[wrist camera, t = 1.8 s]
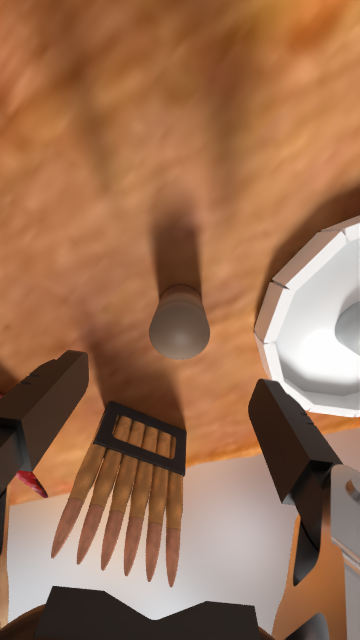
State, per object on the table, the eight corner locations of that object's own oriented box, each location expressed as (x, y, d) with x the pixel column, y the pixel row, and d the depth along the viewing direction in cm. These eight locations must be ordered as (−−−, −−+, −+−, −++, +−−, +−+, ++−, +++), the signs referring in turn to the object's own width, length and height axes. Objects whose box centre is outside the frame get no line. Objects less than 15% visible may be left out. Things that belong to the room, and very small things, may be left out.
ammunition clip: (104, 409, 24) (34, 559, 13) (110, 400, 23) (41, 549, 12) (180, 439, 25) (176, 593, 14) (186, 431, 25) (188, 586, 14)
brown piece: (162, 281, 17) (151, 301, 12) (205, 288, 17) (216, 310, 12) (158, 321, 19) (146, 355, 13) (197, 327, 19) (203, 363, 13)
